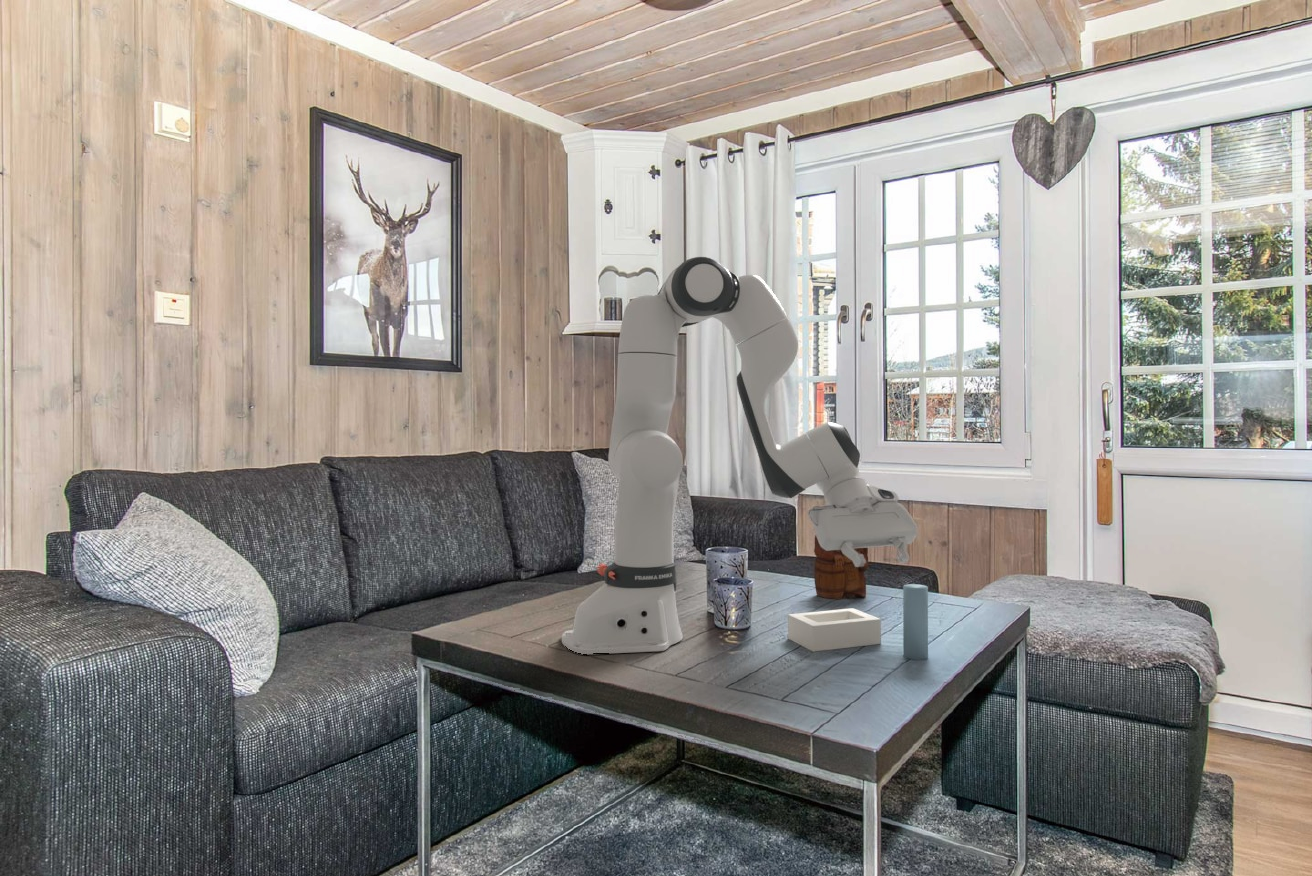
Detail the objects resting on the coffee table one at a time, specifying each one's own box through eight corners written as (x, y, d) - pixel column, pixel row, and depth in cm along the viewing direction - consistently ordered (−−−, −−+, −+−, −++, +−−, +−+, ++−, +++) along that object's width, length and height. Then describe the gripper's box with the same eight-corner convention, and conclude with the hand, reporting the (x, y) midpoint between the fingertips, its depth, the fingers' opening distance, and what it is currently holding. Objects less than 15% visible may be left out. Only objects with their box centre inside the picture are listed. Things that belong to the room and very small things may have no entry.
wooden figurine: (821, 600, 178) (821, 520, 177) (812, 594, 184) (812, 517, 184) (871, 598, 179) (871, 519, 179) (860, 592, 186) (860, 516, 185)
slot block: (813, 651, 138) (813, 625, 138) (788, 638, 146) (788, 614, 146) (881, 643, 142) (880, 618, 142) (852, 631, 151) (852, 608, 151)
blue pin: (913, 660, 132) (913, 589, 132) (898, 654, 136) (898, 585, 136) (933, 658, 133) (932, 587, 133) (917, 651, 137) (917, 583, 137)
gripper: (811, 496, 147) (840, 556, 138) (902, 491, 154) (936, 548, 145) (799, 517, 151) (827, 577, 142) (889, 512, 158) (921, 568, 149)
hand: (883, 563), depth 143 cm, fingers open, 8 cm apart
